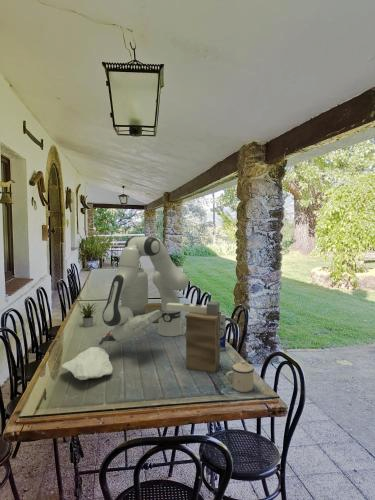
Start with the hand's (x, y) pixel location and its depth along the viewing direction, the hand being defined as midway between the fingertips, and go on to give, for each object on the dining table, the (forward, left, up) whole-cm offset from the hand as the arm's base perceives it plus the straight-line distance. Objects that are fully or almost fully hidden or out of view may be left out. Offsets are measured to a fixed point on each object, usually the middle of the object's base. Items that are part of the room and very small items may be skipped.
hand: (161, 312), depth 186 cm
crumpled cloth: (+26, -26, -24) cm, 44 cm away
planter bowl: (-63, -28, -24) cm, 73 cm away
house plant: (-38, -65, -24) cm, 79 cm away
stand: (+3, +23, -24) cm, 33 cm away
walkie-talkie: (-18, -40, -24) cm, 50 cm away
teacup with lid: (+20, +44, -24) cm, 54 cm away
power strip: (0, +17, +2) cm, 17 cm away
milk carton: (-22, +25, -24) cm, 41 cm away
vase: (-77, -51, -24) cm, 96 cm away
